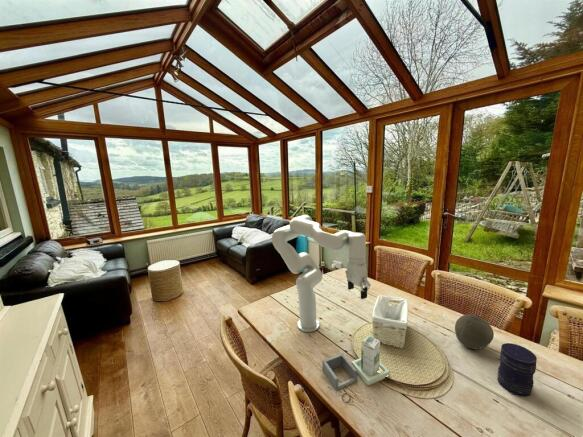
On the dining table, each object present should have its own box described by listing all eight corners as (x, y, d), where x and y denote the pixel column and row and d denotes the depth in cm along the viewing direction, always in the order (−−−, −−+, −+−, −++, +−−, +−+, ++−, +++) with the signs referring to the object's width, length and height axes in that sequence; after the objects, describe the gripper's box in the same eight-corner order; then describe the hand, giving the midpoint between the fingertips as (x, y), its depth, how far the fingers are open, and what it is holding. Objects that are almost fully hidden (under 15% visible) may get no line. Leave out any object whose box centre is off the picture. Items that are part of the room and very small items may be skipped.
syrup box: (366, 362, 105) (366, 334, 102) (379, 369, 101) (380, 340, 98) (360, 371, 101) (360, 341, 98) (374, 378, 97) (374, 347, 94)
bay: (322, 370, 103) (322, 360, 102) (342, 362, 107) (342, 352, 106) (335, 390, 94) (335, 379, 93) (357, 380, 97) (357, 370, 96)
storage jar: (495, 386, 91) (499, 353, 88) (498, 370, 98) (502, 339, 95) (531, 403, 84) (537, 367, 81) (532, 385, 91) (537, 351, 88)
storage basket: (377, 316, 139) (377, 293, 136) (408, 322, 132) (409, 298, 129) (370, 342, 118) (370, 316, 116) (406, 352, 111) (407, 324, 108)
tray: (351, 366, 105) (351, 361, 104) (371, 358, 108) (371, 353, 108) (368, 386, 94) (368, 381, 94) (389, 376, 98) (389, 371, 98)
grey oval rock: (475, 360, 104) (478, 330, 101) (446, 339, 117) (448, 312, 114) (498, 352, 107) (502, 323, 104) (468, 332, 121) (470, 306, 118)
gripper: (339, 255, 115) (340, 287, 118) (362, 267, 99) (362, 304, 102) (352, 252, 117) (352, 284, 121) (376, 264, 102) (376, 300, 105)
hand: (357, 293), depth 112 cm, fingers open, 9 cm apart
